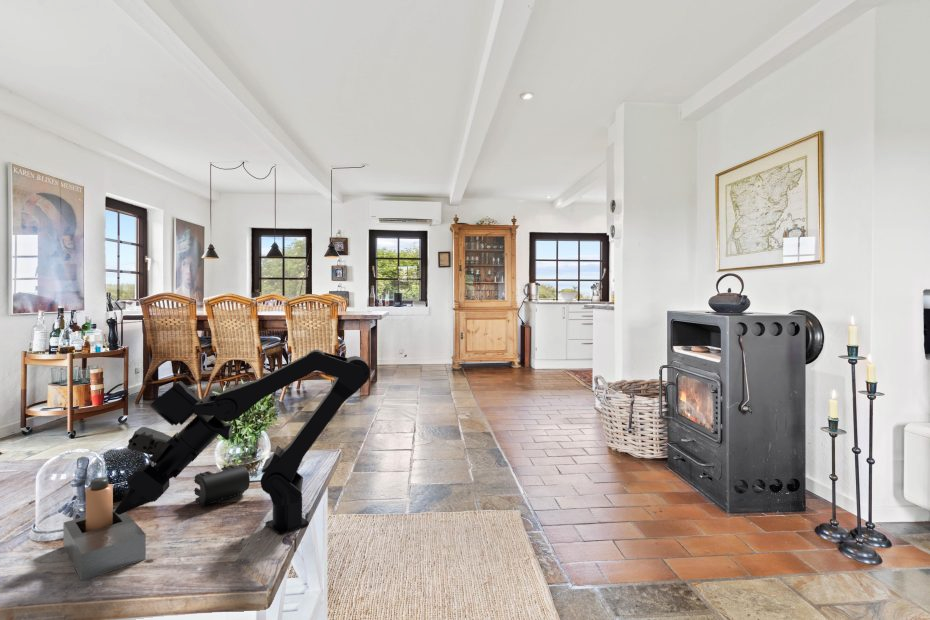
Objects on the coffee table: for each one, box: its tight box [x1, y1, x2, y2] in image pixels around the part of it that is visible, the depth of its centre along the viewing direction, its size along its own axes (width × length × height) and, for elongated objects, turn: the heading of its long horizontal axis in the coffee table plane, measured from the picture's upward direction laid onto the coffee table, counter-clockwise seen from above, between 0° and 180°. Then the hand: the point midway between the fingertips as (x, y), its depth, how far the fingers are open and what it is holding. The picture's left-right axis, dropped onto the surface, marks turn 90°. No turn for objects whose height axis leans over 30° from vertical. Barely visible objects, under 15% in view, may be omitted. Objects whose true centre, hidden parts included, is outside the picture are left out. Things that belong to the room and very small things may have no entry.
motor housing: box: [62, 508, 147, 582], centre depth 86 cm, size 16×9×4 cm, turn 49°
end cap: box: [193, 464, 251, 507], centre depth 109 cm, size 10×7×7 cm
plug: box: [85, 477, 114, 532], centre depth 88 cm, size 4×4×12 cm
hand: (127, 502), depth 89 cm, fingers open, 9 cm apart
